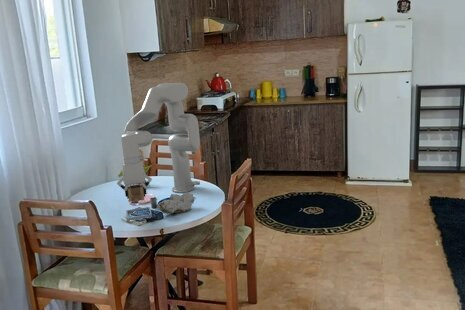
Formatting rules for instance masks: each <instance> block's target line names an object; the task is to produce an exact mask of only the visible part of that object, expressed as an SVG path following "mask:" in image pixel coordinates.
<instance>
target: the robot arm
mask: <svg viewBox="0 0 465 310" xmlns="http://www.w3.org/2000/svg"><path fill="white" fill-rule="evenodd" d="M188 94H189V89H188V86H187V85H186V83H184V82H165V83H159V84H157V86H152V87H151V88H150V89H149V90H148V92H147V94H146V97H145V100H144V102H143V104H142V107H141V109H140V111H138V112H137V113H136V114H135V115H133V116H132V117H131V118H130V119H129V121H128V122H127V123H126V125H125V127H124V130H123V133H122V135H121V137H120V140H121V147H122V148H121V149H122V156H123V163H122V164H121V165H122V167H121V168H122V169H121V170H122V172H123V176H121V177H120V178H119V180H118V181H116V184H117V185H118V187H120V188H121V189H123V191H124V193H125V197H126V199H128V200H129V196H128V186H129V185H136V184H142V186H143V191H144V198H145V197H146V195H147V187H149V185H150V183H151V182H152V180H153V179H152V177H150V176H148V175H147V173H146V174H145V172H144V168H145V167H144V163H143V161H142V160H144V156H143V155H140V154H141V152H140V148H144V147H148V146H150V145H151V144H152V141H153V135H152V133H151V132H150V131H148V130H138V129H140V128H141V127H142V126H144V125H145V124H147V123H150V122H153V121H154V120H156V119H157V118H158V116H159V114H160V111H161V108H162V105H163V104H165V106H166V109H167V117H168V124H169V128H170V130H171V131H173V132H180V133H173V134H171V135H170V136H169V137H168V141H167V145H168V148H169V151H170V156H171V164H172V172H173V173H172V174H173V182H174V184H173V185H174V186H173V187H172V188H171V191H172V192H174V193H177V194H178V193H190V192H191V191H193V190H195V186H198V185H201V182H200V181H199V180H198V181H197V180H194V181H193V180H192V176H191V174H192V173H191V163H190V156H189V155H188V153H187V152H196V151H198V150H199V149H200V145H201V138H200V130H199V129H200V127H199V120H198V118H197V116H196V115H194V114H193V113H185V111H184V106H183V105H184V104H183V102H182V100H185V99H186V98H187V96H188ZM182 132H183V133H182ZM184 132H185V133H184ZM146 179H147V180H146ZM145 180H146V181H147V182H146V183H145ZM122 182H123V184H122Z"/></svg>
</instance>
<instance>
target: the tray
mask: <svg viewBox="0 0 465 310" xmlns="http://www.w3.org/2000/svg"><path fill="white" fill-rule="evenodd" d="M143 209H146V210H149V211H150V214H149V215H142V216H135V217H128V216H130V215H131V214H132V213H133V212H134V211H138V210H143ZM152 215H153V214H152V208H151V206H146V207H139V208H138V207H137V208H133V209H132V208H131V209H126V210H125V216H126V217H125V218H126V223H130V222H129V221H130V220H134V219H141V218H145V217H148V216H152ZM152 217H153V216H152Z"/></svg>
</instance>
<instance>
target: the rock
mask: <svg viewBox="0 0 465 310" xmlns="http://www.w3.org/2000/svg"><path fill="white" fill-rule="evenodd" d="M194 202H195V196H194V195H193V193H191V192H183V194H181V195H180V194H178V193H177V194H176V193H175V194H174V193H171V194H170V196H169V199H168V200H167V199H164V200H163V201H162V202H159V203H157V208H158V210H159V211H160V212H162V214H167V215H168V214H169V215H172V214H174V213H175V214H179V213H181V214H185V213H186V212H188V211H189V210H190V209H191V210H192V207H193V206H192V204H193V203H194Z"/></svg>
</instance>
